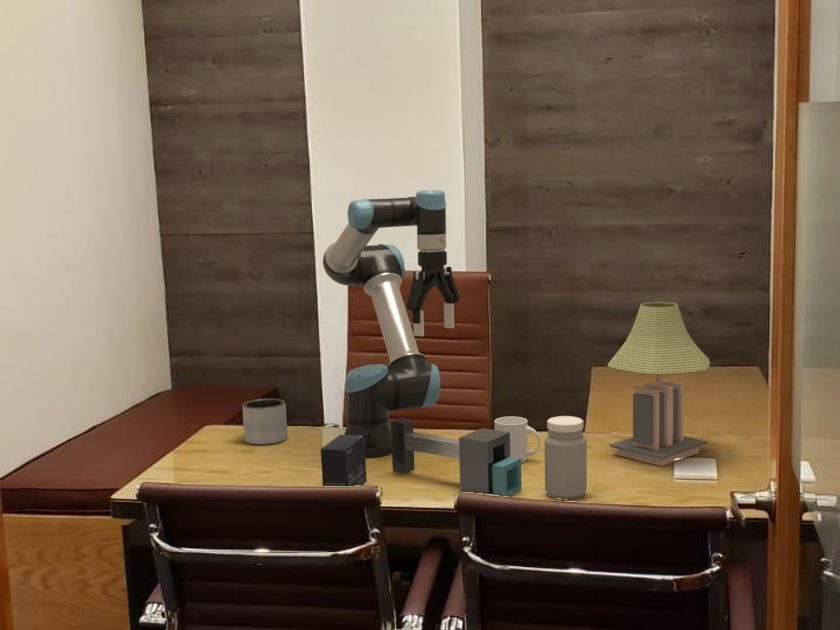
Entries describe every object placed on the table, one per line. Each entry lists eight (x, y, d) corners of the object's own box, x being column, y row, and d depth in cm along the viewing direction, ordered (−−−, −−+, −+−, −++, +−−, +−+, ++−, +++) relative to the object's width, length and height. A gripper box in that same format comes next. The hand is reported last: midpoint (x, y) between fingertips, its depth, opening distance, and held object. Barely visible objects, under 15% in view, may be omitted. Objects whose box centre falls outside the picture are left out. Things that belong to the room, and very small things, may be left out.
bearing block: (460, 492, 246) (458, 437, 244) (483, 481, 254) (481, 428, 252) (488, 498, 241) (487, 442, 239) (510, 486, 249) (509, 432, 247)
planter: (245, 436, 303) (243, 399, 302) (288, 433, 305) (286, 396, 303) (242, 447, 291) (240, 409, 289) (287, 445, 292) (285, 406, 291)
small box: (341, 479, 259) (339, 433, 257) (367, 481, 257) (365, 435, 255) (322, 496, 246) (319, 448, 244) (348, 498, 244) (346, 449, 242)
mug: (536, 466, 265) (536, 426, 263) (491, 463, 268) (490, 423, 267) (543, 457, 273) (543, 417, 271) (499, 454, 277) (499, 415, 275)
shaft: (392, 471, 261) (390, 421, 259) (402, 467, 265) (400, 417, 263) (485, 489, 245) (483, 435, 243) (494, 485, 248) (492, 432, 246)
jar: (544, 487, 247) (543, 415, 245) (585, 487, 246) (584, 414, 244) (545, 501, 238) (544, 425, 235) (588, 501, 237) (587, 425, 234)
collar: (493, 497, 241) (492, 465, 240) (510, 488, 248) (510, 456, 246) (503, 500, 240) (503, 467, 238) (521, 490, 246) (521, 458, 245)
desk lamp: (675, 475, 254) (676, 315, 248) (585, 453, 275) (584, 305, 269) (732, 453, 270) (734, 303, 264) (643, 434, 291) (644, 294, 285)
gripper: (414, 255, 252) (417, 340, 255) (471, 246, 272) (472, 325, 275) (390, 254, 256) (393, 337, 260) (447, 246, 276) (449, 323, 279)
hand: (434, 331), depth 267 cm, fingers open, 13 cm apart
